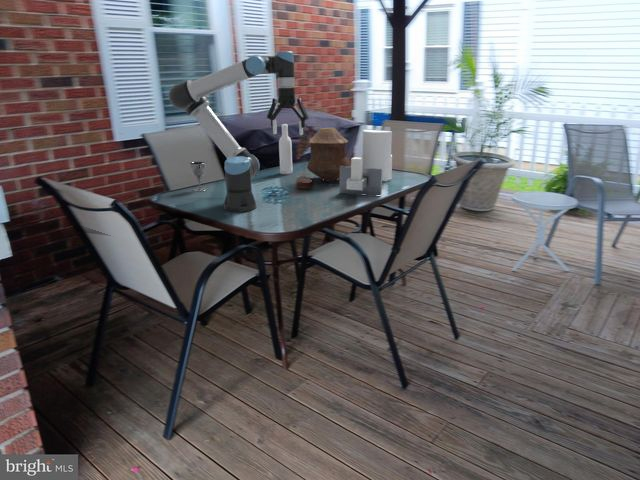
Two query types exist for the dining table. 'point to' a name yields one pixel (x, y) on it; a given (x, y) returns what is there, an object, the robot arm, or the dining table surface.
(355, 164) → the rail post
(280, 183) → the dining table surface
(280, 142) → the bottle
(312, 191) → the dining table surface
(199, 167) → the wine glass
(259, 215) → the dining table surface
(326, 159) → the pottery vessel
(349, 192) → the grey block
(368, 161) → the cylinder
